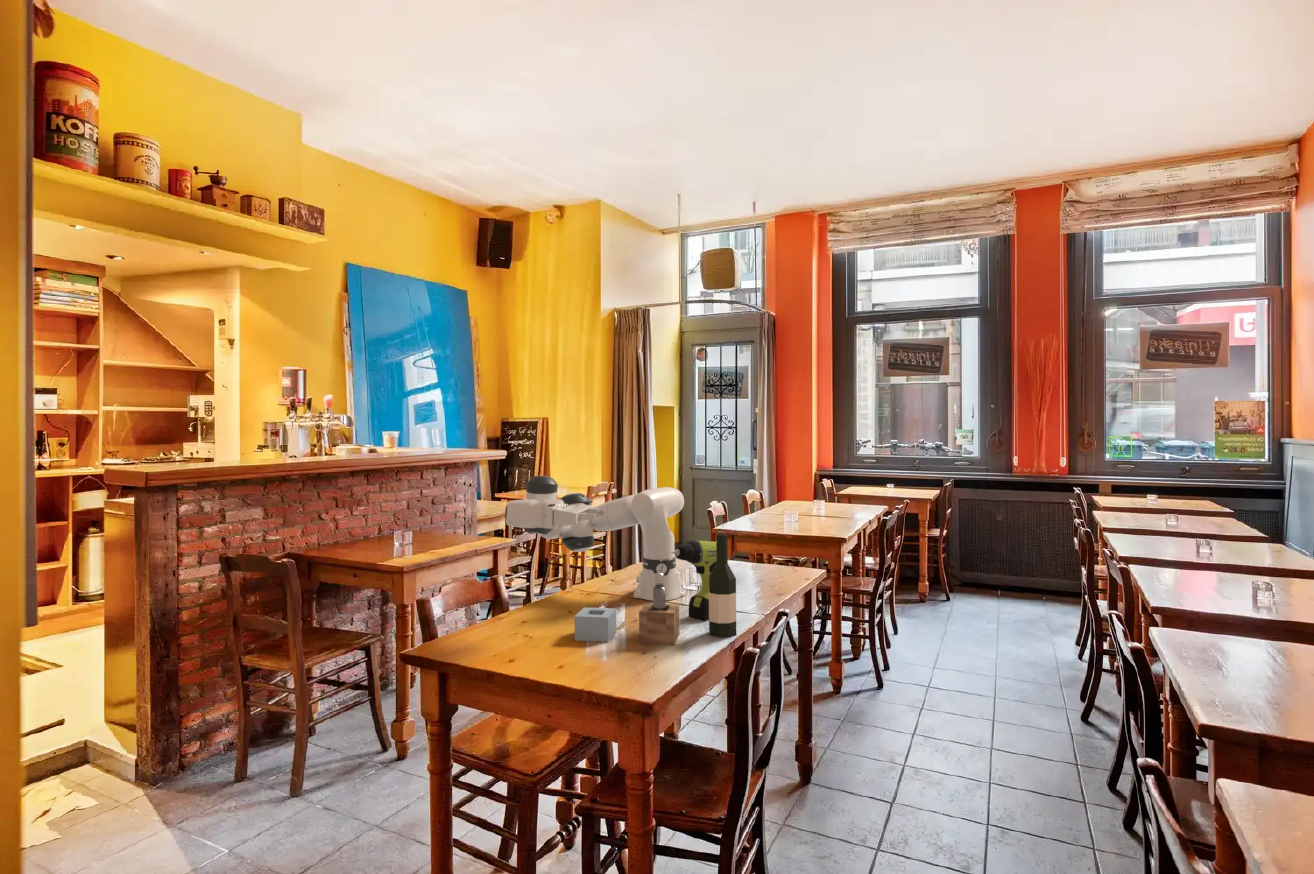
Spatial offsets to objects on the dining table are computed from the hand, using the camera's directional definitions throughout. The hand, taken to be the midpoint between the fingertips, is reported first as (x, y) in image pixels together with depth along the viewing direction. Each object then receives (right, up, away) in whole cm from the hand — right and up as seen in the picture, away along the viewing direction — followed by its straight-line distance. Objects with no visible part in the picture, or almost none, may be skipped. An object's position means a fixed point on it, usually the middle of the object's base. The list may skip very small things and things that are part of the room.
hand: (600, 514), depth 212 cm
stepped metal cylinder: (+18, -32, -9) cm, 38 cm away
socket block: (-1, -35, -5) cm, 35 cm away
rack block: (+18, -35, -9) cm, 40 cm away
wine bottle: (+36, -35, -4) cm, 51 cm away
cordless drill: (+30, -35, +12) cm, 48 cm away
